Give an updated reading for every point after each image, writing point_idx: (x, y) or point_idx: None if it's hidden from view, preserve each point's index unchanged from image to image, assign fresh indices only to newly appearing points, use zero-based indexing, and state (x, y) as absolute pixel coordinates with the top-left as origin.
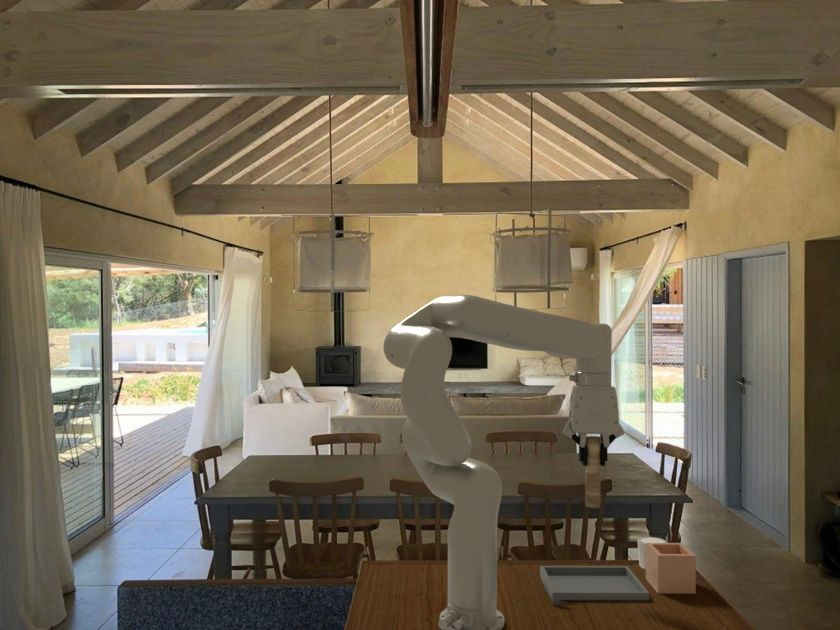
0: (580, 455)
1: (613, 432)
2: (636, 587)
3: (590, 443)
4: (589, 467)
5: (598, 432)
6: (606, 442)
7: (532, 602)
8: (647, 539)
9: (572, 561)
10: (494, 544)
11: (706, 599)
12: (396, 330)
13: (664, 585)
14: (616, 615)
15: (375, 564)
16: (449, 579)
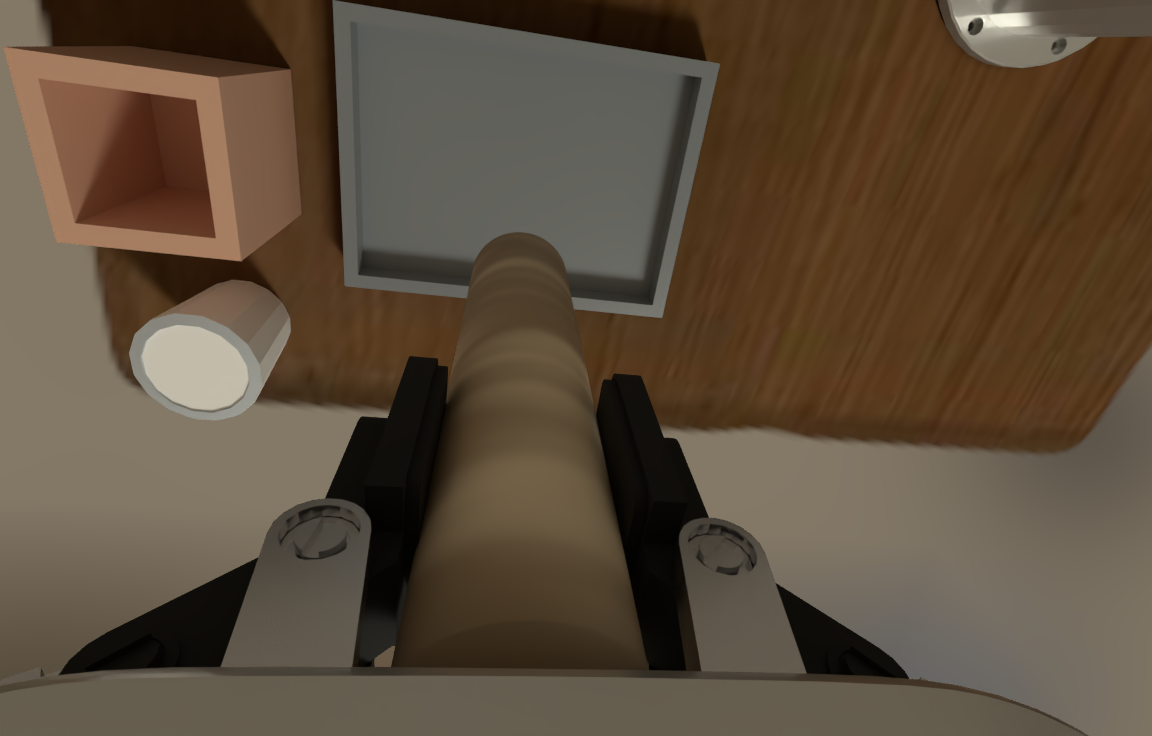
0: (688, 471)
1: (21, 682)
2: (358, 126)
3: (601, 560)
4: (576, 373)
5: (501, 680)
6: (313, 563)
7: (765, 94)
8: (215, 391)
9: None
10: None
11: (86, 25)
12: None
13: (244, 67)
14: None
15: (1073, 430)
16: None
